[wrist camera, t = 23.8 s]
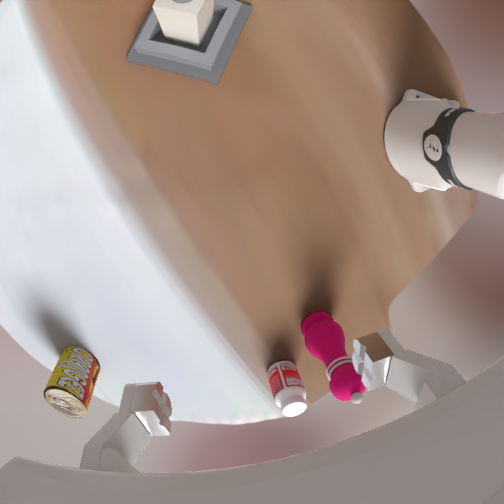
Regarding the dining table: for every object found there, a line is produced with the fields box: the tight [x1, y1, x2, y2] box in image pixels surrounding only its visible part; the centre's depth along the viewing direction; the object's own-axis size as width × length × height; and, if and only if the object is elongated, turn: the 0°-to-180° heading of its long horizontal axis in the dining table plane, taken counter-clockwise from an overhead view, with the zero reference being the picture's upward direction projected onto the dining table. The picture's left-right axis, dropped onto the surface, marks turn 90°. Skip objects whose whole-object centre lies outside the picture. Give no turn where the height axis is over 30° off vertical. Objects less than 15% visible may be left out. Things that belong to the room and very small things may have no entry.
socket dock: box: [126, 0, 253, 85], centre depth 30 cm, size 14×14×4 cm
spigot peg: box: [152, 0, 214, 47], centre depth 24 cm, size 5×5×14 cm
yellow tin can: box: [44, 346, 100, 418], centre depth 44 cm, size 9×9×12 cm
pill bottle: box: [267, 361, 307, 417], centre depth 52 cm, size 6×6×11 cm
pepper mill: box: [301, 311, 366, 404], centre depth 45 cm, size 7×7×20 cm
